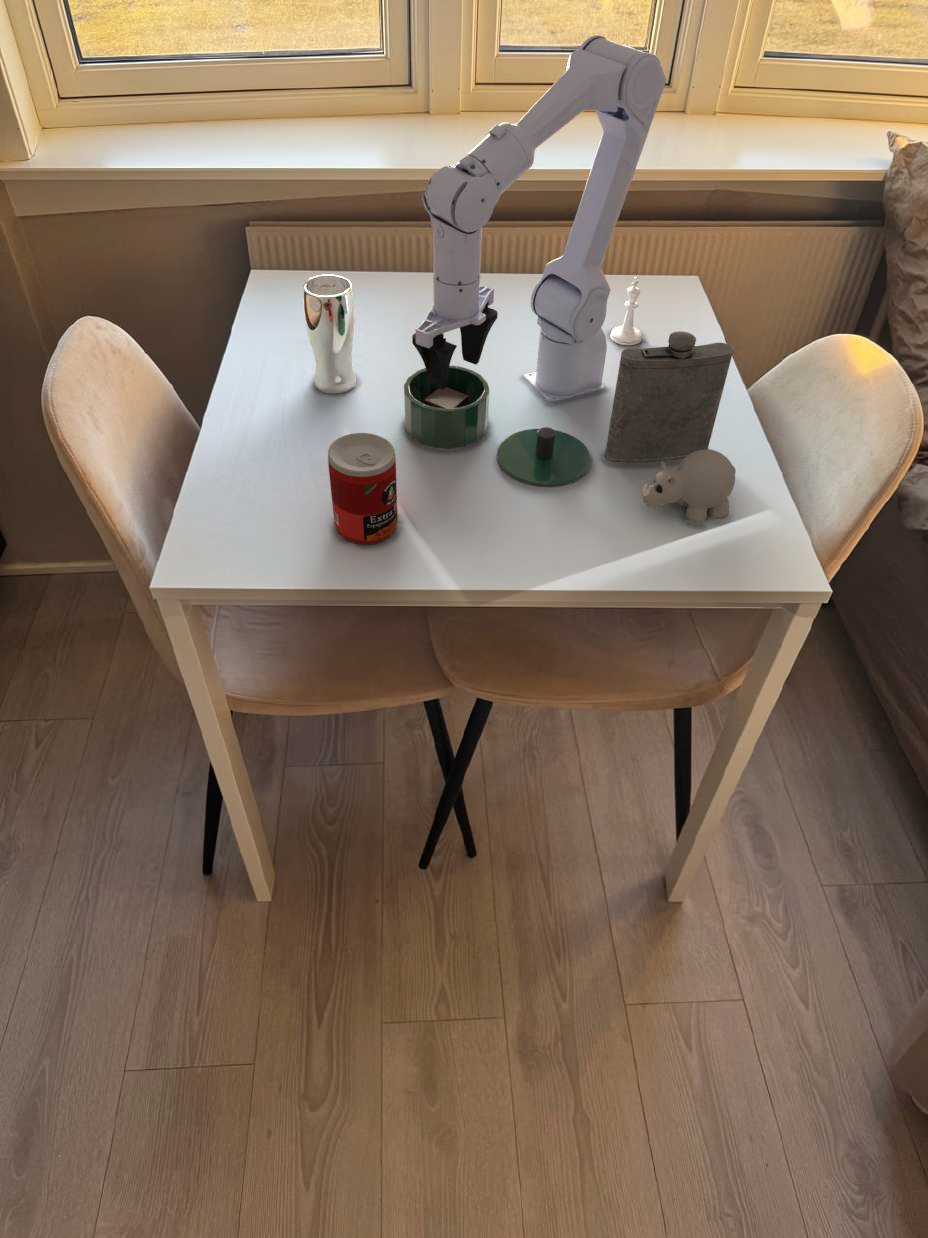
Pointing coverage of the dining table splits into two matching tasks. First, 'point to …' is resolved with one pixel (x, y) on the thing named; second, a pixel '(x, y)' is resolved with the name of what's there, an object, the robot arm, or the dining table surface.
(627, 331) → the chess piece
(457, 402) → the block
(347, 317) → the beer glass
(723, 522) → the dining table surface
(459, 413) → the pot
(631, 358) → the flask
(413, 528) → the dining table surface
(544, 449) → the lid
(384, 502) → the canned food
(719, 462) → the toy rhinoceros
